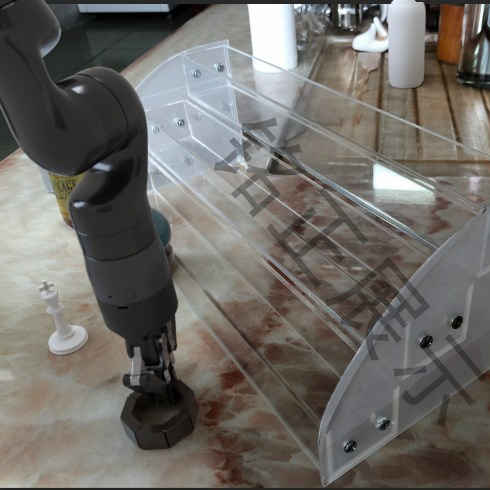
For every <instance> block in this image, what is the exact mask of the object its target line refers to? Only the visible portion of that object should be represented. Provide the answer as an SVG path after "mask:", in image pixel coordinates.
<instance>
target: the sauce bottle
mask: <svg viewBox="0 0 490 490" xmlns="http://www.w3.org/2000/svg"><path fill="white" fill-rule="evenodd" d="M47 172H48V171H47ZM48 174H49V177H50V181H51V184H52V187H53V190H54V193H53V194H54V195H55V196H54V197H55V199H56V202H57V205H58V209H59V211H60V214H61V216H62V218H63V221H64V223H65V224H66V225H67V226H69V227H73V225H72V222H71V219H70V215H69V212H68V207H67V202H68V198H69V196H70V193H71V192H72V190H73V189H74V188H75V187H76V185H77V184H78V183H79V182H80V180H81V179H82V177H83V176H84V174H85V172H84V173H82V174H80V175H77V176H73V177H63V176H58V175H55V174H52V173H50V172H48Z"/></svg>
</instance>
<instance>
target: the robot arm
mask: <svg viewBox="0 0 490 490" xmlns="http://www.w3.org/2000/svg"><path fill="white" fill-rule="evenodd" d="M61 35H62V28H61V25H60V22H59V20H58V19H57V17H56V16H55V14H54V12H53V10H52V9H51V8H50V6H49V5H48V4H47V2H46V1H45V0H0V111H1V112H2V114H3V117H4V119H5V121H6V123H7V125H8V128H9V130H10V132H11V134H12V136H13V138H14V140H15V141H16V143H17V145H18V146H19V148H20V149H21V151H22V152H23V154H25V156H26V157H27V158H28V159H29V160H30V161H31V162H32V163H34V164H35V165H36V166H37V165H38V166H39V167H41V168H42V169H44V170H46V171H48V172H50V173H52V174H55V175H58V176H63V177H73V176H77V175H80V174H82V173H84V172H85V174H84V176H83V177H82V179H81V180H80V182H79V183H78V184H77V185H76V187H75V188H74V189H73V190H72V192H71V193H70V196H69V198H68V202H67V207H68V212H69V215H70V219H71V222H72V225H73V230H74V233H75V236H76V238H77V241H78V245H79V247H80V250H81V253H82V256H83V263H84V267H85V272H86V275H87V278H88V282H89V283H90V286H91V289H92V292H93V294H94V297H95V300H96V303H97V306H98V308H99V311H100V314H101V317H102V319H103V322H104V325H105V327H107V329H108V330H109V331H111V332H112V333H114V334H116V335H118V336H119V337H121V338H123V340H124V345H125V349H126V355H127V357H128V358H129V359H130V360H131V370H129V371H128V373H124V374H123V375H122V385H123V387H125V388H128V389H129V390H132V392H134V391H136V392H138V393H140V394H146V393H153V396H154V399H155V402H156V404H155V405H157V406H174V405H175V404H176V402H177V401H176V396H175V392H174V389H173V385H172V382H171V379H178V376H177V373H176V369H175V365H176V357H175V354H174V352H176V351H177V349H178V339H177V325H176V324H177V323H176V322H177V321H176V314H177V311H178V309H179V299H178V295H177V291H176V287H175V283H174V279H173V276H172V274H171V272H170V268H169V264H168V260H167V257H166V253H165V250H164V247H163V244H162V242H161V240H160V238H159V235H158V232H157V229H156V226H155V222H154V218H153V214H152V210H151V207H152V206H151V203H150V201H149V196H148V181H149V180H148V179H149V130H148V120H147V114H146V112H145V111H146V110H145V107H144V105H143V102H142V100H141V98H140V96H139V94H138V92H137V91H136V89H135V88H134V86H133V85H132V83H131V82H129V80H128V79H127V78H126V77H125V76H123V75H122V73H119V72H118V71H116V70H114V69H113V68H109V67H105V66H92V67H89V68H85V69H83V70H80V71H78V72H77V73H74V74H71V75H70V76H68V77H66V78H64V79H62V80H59V81H57V82H54V81H53V80H52V78H51V76H50V74H49V72H48V70H47V67H46V64H45V61H44V59H43V58H45V56H47V55H48V54H49V53H50V52H51V51H52V50H53V49H54V48H55V47H56V46H57V44H58V43H59V41H60V38H61ZM38 166H37V167H38Z"/></svg>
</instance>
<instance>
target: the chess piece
mask: <svg viewBox="0 0 490 490" xmlns="http://www.w3.org/2000/svg"><path fill="white" fill-rule="evenodd" d="M41 284H42V285H40V286H38V287H37V288H38V291H39V292H40V293H41V294H40V299H41V300H42V301H43V302H44V303H45V304H46V305H47V307H46V314H47V315H49V316H53V319H54V323H55V327H56V328H55V329H56V331H54V332H53V333H52V334H51V335H50V337H49V338H48V342H47V345H48V350H49V351H50V353H52V354H54V355H57V356H59V355H60V356H64V355H67V354H68V355H69V354H72V353H75V352H76V351H78V350H80V349H81V348H82V347H84V346H85V344H86V343H87V341H88V339H89V333H88V331H87V330H86V328H84V327H83V326H81V325H76V324H73V325H72V324H71V325H70V324H69V323H68V321H67V319H66V317H65V315H64V314H63V313H62V312H63V311H64V309H65V305H64V303H62V302H59V291H58V290H57V289H56V288H52V287H54V286H55V285H54V282H53V281H49V282H47V280H46V279H43V280H41Z"/></svg>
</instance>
